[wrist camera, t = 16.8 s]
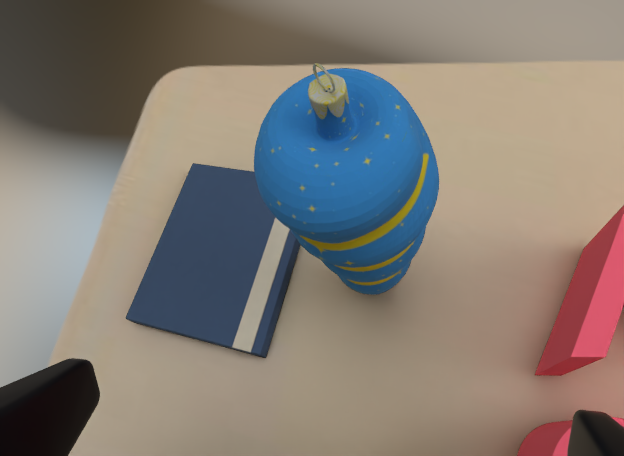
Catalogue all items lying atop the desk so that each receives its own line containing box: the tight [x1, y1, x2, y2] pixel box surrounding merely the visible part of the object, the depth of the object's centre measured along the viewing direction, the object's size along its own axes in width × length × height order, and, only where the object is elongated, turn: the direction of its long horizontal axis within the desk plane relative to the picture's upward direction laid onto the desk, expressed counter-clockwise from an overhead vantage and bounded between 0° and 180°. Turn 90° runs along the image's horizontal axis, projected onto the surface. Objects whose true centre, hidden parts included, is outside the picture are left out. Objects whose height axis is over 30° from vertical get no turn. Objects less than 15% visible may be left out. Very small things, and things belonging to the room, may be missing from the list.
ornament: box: [254, 63, 439, 295], centre depth 16 cm, size 5×5×15 cm
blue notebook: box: [126, 163, 300, 358], centre depth 25 cm, size 10×8×1 cm
